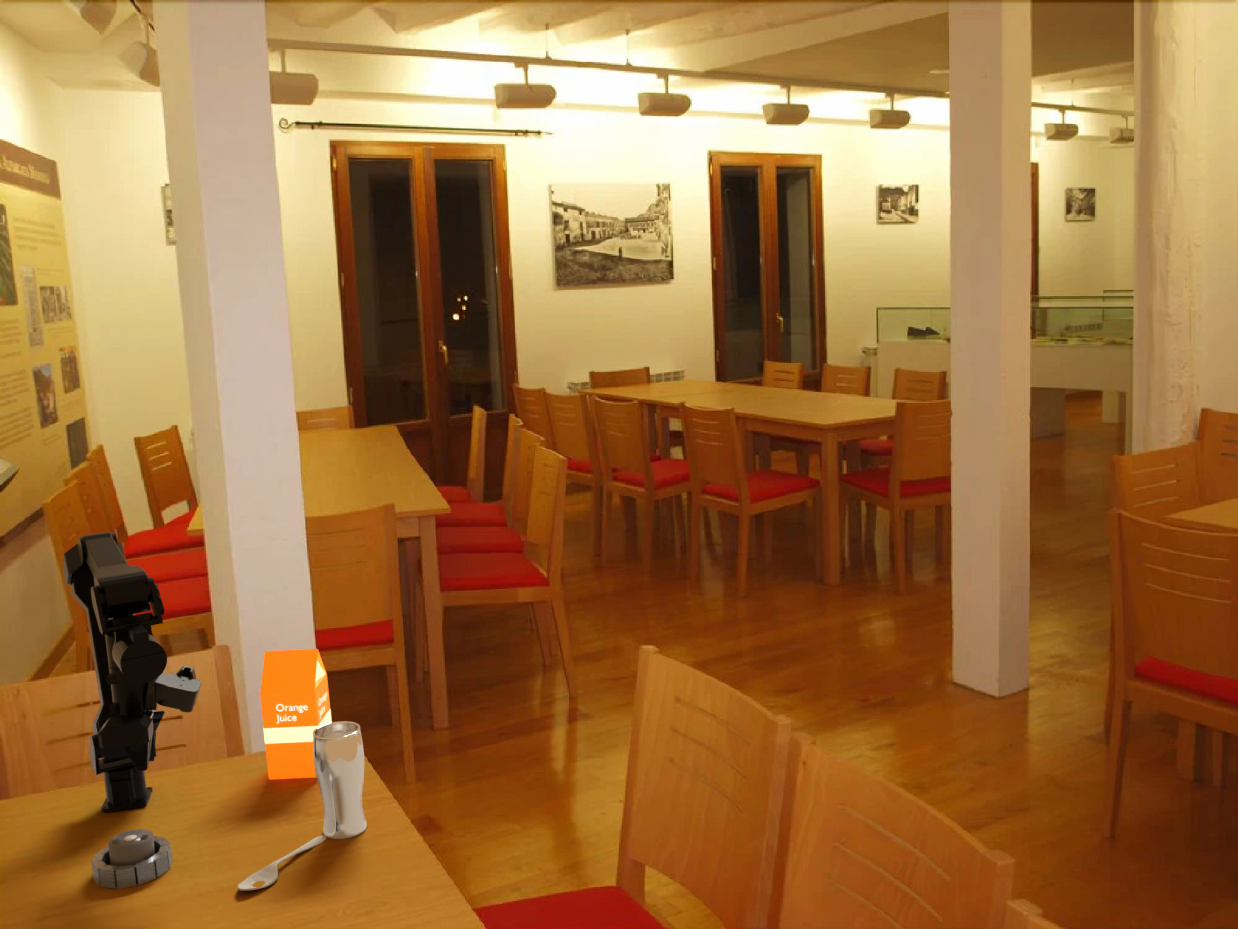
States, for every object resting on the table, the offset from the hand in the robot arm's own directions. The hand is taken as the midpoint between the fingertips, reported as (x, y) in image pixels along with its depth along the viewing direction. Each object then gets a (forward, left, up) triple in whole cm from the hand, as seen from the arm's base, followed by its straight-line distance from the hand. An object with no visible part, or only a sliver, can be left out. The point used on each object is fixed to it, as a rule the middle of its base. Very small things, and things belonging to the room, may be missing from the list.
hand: (143, 769), depth 161 cm
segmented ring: (+6, -1, -12) cm, 13 cm away
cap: (+6, -1, -12) cm, 13 cm away
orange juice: (-22, +20, -12) cm, 32 cm away
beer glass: (+3, +27, -12) cm, 29 cm away
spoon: (+10, +19, -12) cm, 25 cm away
